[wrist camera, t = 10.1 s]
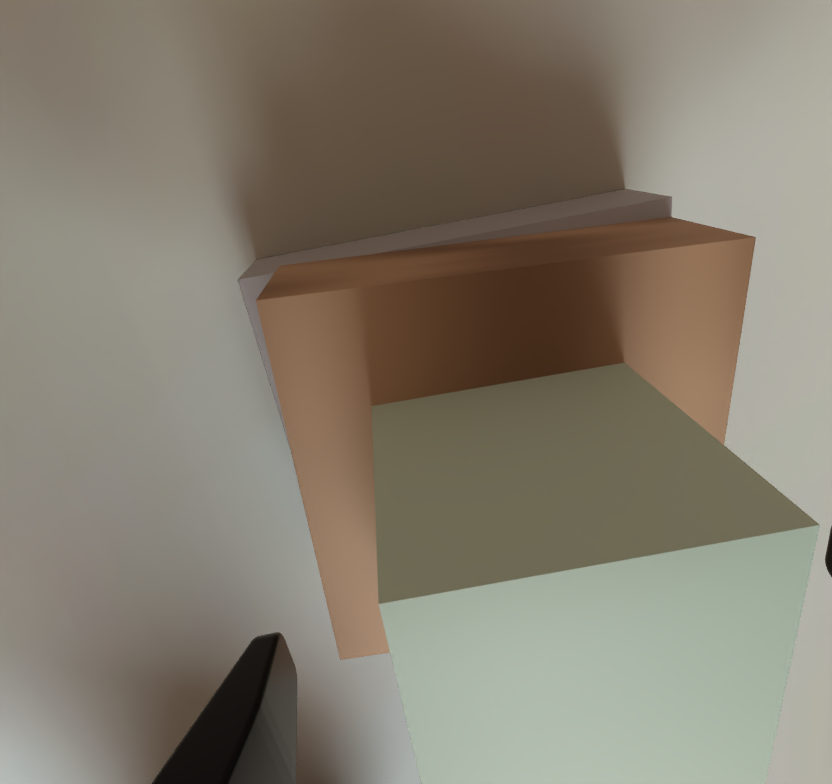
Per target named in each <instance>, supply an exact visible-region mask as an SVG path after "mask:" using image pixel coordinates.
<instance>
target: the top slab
mask: <svg viewBox="0 0 832 784" xmlns="http://www.w3.org/2000/svg"><path fill="white" fill-rule="evenodd" d="M755 239H756V237H753V236H748V235H744V234H740V233H736V232H732V231H727V230H723V229H719V228H715V227H710V226H706V225H702V224H698V223H693V222H689V221H685V220H681V219H676V218H672V217H667V218H659V219H651V220H643V221H635V222H627V223H619V224H611V225H602V226H594V227H586V228H578V229H570V230H562V231H554V232H546V233H538V234H530V235H522V236H514V237H506V238H498V239H490V240H482V241H474V242H466V243H458V244H450V245H442V246H434V247H426V248H418V249H410V250H402V251H394V252H386V253H378V254H369V255H361V256H353V257H345V258H337V259H329V260H321V261H313V262H305V263H297V264H289V265H281V266H279V267H278V268H277V270H276V271H275V273H274V274H273V276H272V277H271V279H270V280H269V282H268V283H267V285H266V286H265V288H264V289H263V290H262V292H261V293H260V295H259V296H258V298H257V299H256V304H257V308H258V313H259V317H260V321H261V325H262V330H263V334H264V338H265V342H266V347H267V351H268V355H269V359H270V364H271V368H272V372H273V376H274V381H275V385H276V389H277V393H278V398H279V402H280V406H281V410H282V415H283V419H284V423H285V427H286V432H287V436H288V440H289V444H290V449H291V453H292V457H293V461H294V466H295V470H296V474H297V478H298V483H299V487H300V491H301V495H302V500H303V504H304V508H305V512H306V517H307V521H308V525H309V529H310V533H311V538H312V542H313V546H314V550H315V555H316V559H317V563H318V567H319V572H320V576H321V580H322V584H323V589H324V593H325V597H326V601H327V606H328V610H329V614H330V618H331V623H332V627H333V631H334V635H335V640H336V644H337V648H338V652H339V657H340V660H343V659H349V658H356V657H363V656H369V655H376V654H382V653H389V652H390V650H389V646H388V642H387V638H386V633H385V629H384V625H383V621H382V617H381V612H380V608H379V602H378V575H377V547H376V519H375V491H374V463H373V435H372V408H371V406H375V405H381V404H387V403H393V402H398V401H404V400H410V399H416V398H422V397H428V396H433V395H439V394H445V393H451V392H457V391H462V390H468V389H474V388H480V387H486V386H492V385H497V384H503V383H509V382H515V381H521V380H527V379H532V378H538V377H544V376H550V375H556V374H561V373H567V372H573V371H579V370H585V369H591V368H596V367H602V366H608V365H614V364H620V363H626V364H627V365H628V366H629V367H630V368H632V369H633V370H634V371H635V372H636V373H638V374H639V375H640V376H641V377H642V378H644V379H645V380H646V381H647V382H648V383H650V384H651V385H652V386H653V387H654V388H656V389H657V390H658V391H659V392H660V393H662V394H663V395H664V396H665V397H666V398H668V399H669V400H670V401H671V402H673V403H674V404H675V405H676V406H677V407H679V408H680V409H681V410H682V411H683V412H685V413H686V414H687V415H688V416H689V417H691V418H692V419H693V420H694V421H695V422H697V423H698V424H699V425H700V426H701V427H703V428H704V429H705V430H706V431H707V432H709V433H710V434H711V435H712V436H713V437H715V438H716V439H717V440H718V441H719V442H721V443H722V444H723V445H724V441H725V434H726V428H727V421H728V415H729V408H730V402H731V395H732V389H733V382H734V376H735V369H736V363H737V356H738V350H739V343H740V336H741V330H742V323H743V317H744V310H745V304H746V297H747V291H748V284H749V278H750V271H751V265H752V258H753V252H754V245H755Z"/></svg>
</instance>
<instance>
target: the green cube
mask: <svg viewBox="0 0 832 784" xmlns="http://www.w3.org/2000/svg"><path fill="white" fill-rule="evenodd" d="M371 408H372V435H373V463H374V491H375V519H376V547H377V575H378V602H379V608H380V612H381V617H382V621H383V625H384V629H385V633H386V638H387V642H388V646H389V650H390V654H391V659H392V663H393V667H394V671H395V676H396V680H397V684H398V688H399V692H400V697H401V701H402V705H403V709H404V713H405V718H406V722H407V726H408V730H409V734H410V739H411V743H412V747H413V751H414V756H415V760H416V764H417V768H418V772H419V777H420V781H421V784H765V783H766V778H767V773H768V768H769V764H770V759H771V754H772V749H773V745H774V740H775V735H776V730H777V726H778V721H779V716H780V711H781V707H782V702H783V697H784V692H785V688H786V683H787V678H788V674H789V669H790V664H791V659H792V655H793V650H794V645H795V640H796V636H797V631H798V626H799V621H800V617H801V612H802V607H803V602H804V598H805V593H806V588H807V583H808V579H809V574H810V569H811V564H812V560H813V555H814V550H815V545H816V541H817V536H818V531H819V526H820V525H819V524H818V523H817V522H816V521H814V520H813V519H812V518H811V517H810V516H808V515H807V514H806V513H805V512H804V511H802V510H801V509H800V508H799V507H798V506H796V505H795V504H794V503H793V502H792V501H790V500H789V499H788V498H787V497H786V496H784V495H783V494H782V493H781V492H780V491H778V490H777V489H776V488H775V487H774V486H772V485H771V484H770V483H769V482H768V481H766V480H765V479H764V478H763V477H762V476H760V475H759V474H758V473H757V472H756V471H754V470H753V469H752V468H751V467H750V466H748V465H747V464H746V463H745V462H743V461H742V460H741V459H740V458H739V457H737V456H736V455H735V454H734V453H733V452H731V451H730V450H729V449H728V448H727V447H725V446H724V445H723V444H722V443H721V442H719V441H718V440H717V439H716V438H715V437H713V436H712V435H711V434H710V433H709V432H707V431H706V430H705V429H704V428H703V427H701V426H700V425H699V424H698V423H697V422H695V421H694V420H693V419H692V418H691V417H689V416H688V415H687V414H686V413H685V412H683V411H682V410H681V409H680V408H679V407H677V406H676V405H675V404H674V403H673V402H671V401H670V400H669V399H668V398H666V397H665V396H664V395H663V394H662V393H660V392H659V391H658V390H657V389H656V388H654V387H653V386H652V385H651V384H650V383H648V382H647V381H646V380H645V379H644V378H642V377H641V376H640V375H639V374H638V373H636V372H635V371H634V370H633V369H632V368H630V367H629V366H628V365H627V364H626V363H620V364H614V365H608V366H602V367H596V368H591V369H585V370H579V371H573V372H567V373H561V374H556V375H550V376H544V377H538V378H532V379H527V380H521V381H515V382H509V383H503V384H497V385H492V386H486V387H480V388H474V389H468V390H462V391H457V392H451V393H445V394H439V395H433V396H428V397H422V398H416V399H410V400H404V401H398V402H393V403H387V404H381V405H375V406H371Z"/></svg>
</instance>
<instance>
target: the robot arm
mask: <svg viewBox="0 0 832 784" xmlns="http://www.w3.org/2000/svg"><path fill="white" fill-rule="evenodd" d="M825 563H826V567H827V570H828V572H829V574H830V575H831V577H832V527H831V530H830V536H829V541H828V546H827V551H826V556H825ZM296 738H297V673H296V668H295V665H294V662H293V660H292V657H291V654H290V652H289V649H288V647H287V644H286V641H285V639H284V637H283V635H282V634H281V633H277V632H276V633H271V634H266V635H261V636H257V637H255V638H254V639H253V640H252V641H251V643H250V644H249V646H248V647H247V648H246V650H245V651H244V653H243V654H242V656H241V657H240V658H239V660H238V661H237V663H236V664H235V666H234V667H233V668H232V670H231V671H230V673H229V674H228V675H227V677H226V678H225V680H224V681H223V683H222V684H221V685H220V687H219V688H218V690H217V691H216V693H215V694H214V695H213V697H212V698H211V700H210V701H209V703H208V704H207V705H206V707H205V708H204V710H203V711H202V712H201V714H200V715H199V717H198V718H197V720H196V721H195V722H194V724H193V725H192V727H191V728H190V730H189V731H188V732H187V734H186V735H185V737H184V738H183V740H182V741H181V742H180V744H179V745H178V747H177V748H176V749H175V751H174V752H173V754H172V755H171V757H170V758H169V759H168V761H167V762H166V764H165V765H164V767H163V768H162V769H161V771H160V772H159V774H158V775H157V777H156V778H155V779H154V781H153V782H152V784H296Z"/></svg>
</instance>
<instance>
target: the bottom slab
mask: <svg viewBox="0 0 832 784" xmlns="http://www.w3.org/2000/svg"><path fill="white" fill-rule="evenodd" d="M671 213H672V197H670V196H664V195H658V194H652V193H646V192H640V191H634V190H628V189H623V190H617V191H612V192H607V193H602V194H596V195H591V196H586V197H581V198H576V199H570V200H565V201H560V202H555V203H549V204H544V205H539V206H534V207H528V208H523V209H518V210H513V211H508V212H502V213H497V214H492V215H487V216H481V217H476V218H471V219H466V220H461V221H455V222H450V223H445V224H440V225H434V226H429V227H424V228H419V229H413V230H408V231H403V232H398V233H393V234H387V235H382V236H377V237H372V238H366V239H361V240H356V241H351V242H345V243H340V244H335V245H330V246H325V247H319V248H314V249H309V250H304V251H298V252H293V253H288V254H283V255H278V256H272V257H267V258H262V259H257V260H256V261H255V262H254V263H253V264H252V265H251V266H250V267H249V268H248V269H247V270H246V271H245V272H244V274H243V275H242V276H241V277H240V278H239V279H238V283H239V286H240V289H241V292H242V296H243V299H244V302H245V305H246V308H247V311H248V315H249V318H250V321H251V324H252V327H253V331H254V334H255V337H256V340H257V343H258V347H259V350H260V353H261V356H262V359H263V363H264V366H265V369H266V372H267V375H268V379H269V382H270V385H271V388H272V391H273V394H274V398H275V401H276V404H277V407H278V410H279V414H280V417H281V420H282V423H283V426H284V430H285V433H286V436H287V432H286V427H285V423H284V419H283V415H282V410H281V406H280V402H279V398H278V393H277V389H276V385H275V381H274V376H273V372H272V368H271V364H270V359H269V355H268V351H267V347H266V342H265V338H264V334H263V330H262V325H261V321H260V317H259V313H258V308H257V304H256V299H257V298H258V296H259V295H260V293H261V292H262V290H263V289H264V288H265V286H266V285H267V283H268V282H269V280H270V279H271V277H272V276H273V274H274V273H275V271H276V270H277V268H278V267H279V266H281V265H289V264H297V263H305V262H313V261H321V260H329V259H337V258H345V257H353V256H361V255H369V254H378V253H386V252H394V251H402V250H410V249H418V248H426V247H434V246H442V245H450V244H458V243H466V242H474V241H482V240H490V239H498V238H506V237H514V236H522V235H530V234H538V233H546V232H554V231H562V230H570V229H578V228H586V227H594V226H602V225H611V224H619V223H627V222H635V221H643V220H651V219H659V218H667V217H671ZM287 439H288V436H287ZM288 442H289V440H288ZM289 446H290V444H289Z"/></svg>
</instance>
